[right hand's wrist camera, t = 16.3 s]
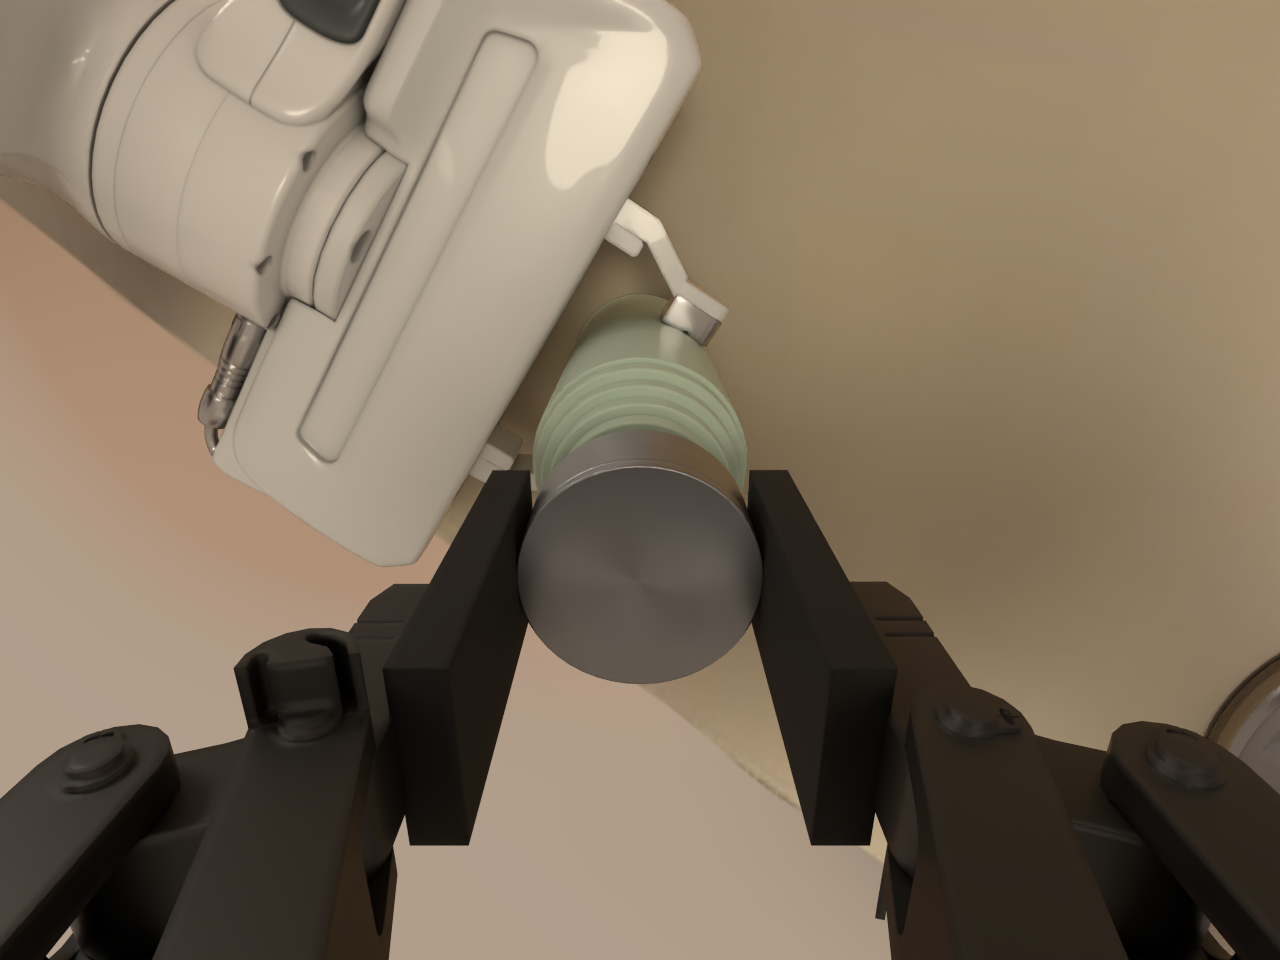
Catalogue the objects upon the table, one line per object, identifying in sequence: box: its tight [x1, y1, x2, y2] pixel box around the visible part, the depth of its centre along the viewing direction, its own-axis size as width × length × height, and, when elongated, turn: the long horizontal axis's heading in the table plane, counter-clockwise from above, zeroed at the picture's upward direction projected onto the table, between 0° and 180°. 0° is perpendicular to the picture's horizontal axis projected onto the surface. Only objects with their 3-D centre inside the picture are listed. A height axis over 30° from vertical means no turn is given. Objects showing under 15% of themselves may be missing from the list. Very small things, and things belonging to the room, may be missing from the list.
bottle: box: [533, 294, 747, 494], centre depth 22 cm, size 6×6×19 cm
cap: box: [516, 430, 764, 684], centre depth 14 cm, size 4×4×2 cm
